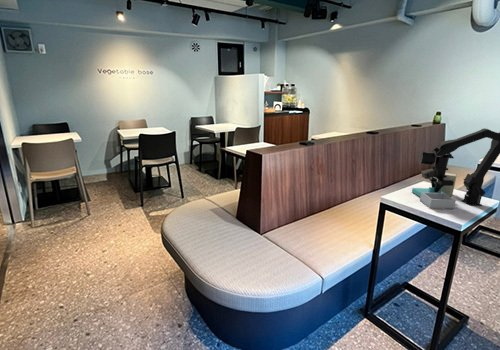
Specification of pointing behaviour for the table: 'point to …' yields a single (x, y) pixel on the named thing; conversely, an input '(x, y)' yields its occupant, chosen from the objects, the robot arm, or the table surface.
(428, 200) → the tub
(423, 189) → the lid
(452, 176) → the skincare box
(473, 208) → the table surface
